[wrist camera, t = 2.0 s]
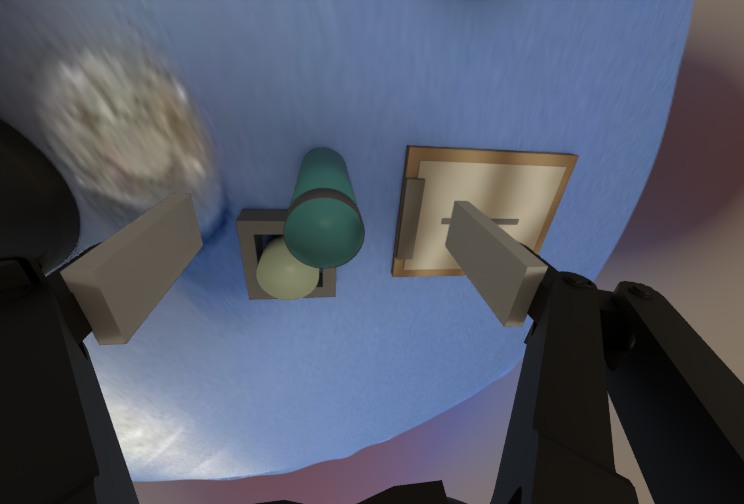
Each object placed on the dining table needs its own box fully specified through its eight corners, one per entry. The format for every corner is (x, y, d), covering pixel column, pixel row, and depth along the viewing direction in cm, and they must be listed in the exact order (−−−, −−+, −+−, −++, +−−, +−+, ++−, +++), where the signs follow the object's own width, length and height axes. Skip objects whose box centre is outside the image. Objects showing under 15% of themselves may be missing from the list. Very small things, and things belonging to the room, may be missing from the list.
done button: (265, 281, 27) (260, 300, 25) (259, 233, 25) (252, 250, 22) (319, 280, 28) (319, 298, 26) (318, 233, 26) (318, 249, 23)
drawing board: (391, 272, 31) (393, 280, 30) (407, 145, 25) (411, 148, 23) (526, 269, 34) (533, 276, 32) (572, 153, 27) (583, 157, 26)
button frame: (254, 283, 29) (249, 299, 27) (243, 209, 25) (235, 221, 23) (334, 281, 31) (335, 296, 28) (335, 210, 27) (336, 221, 24)
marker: (302, 186, 25) (286, 269, 14) (300, 141, 23) (279, 195, 12) (345, 187, 26) (362, 267, 15) (346, 144, 24) (367, 197, 13)
